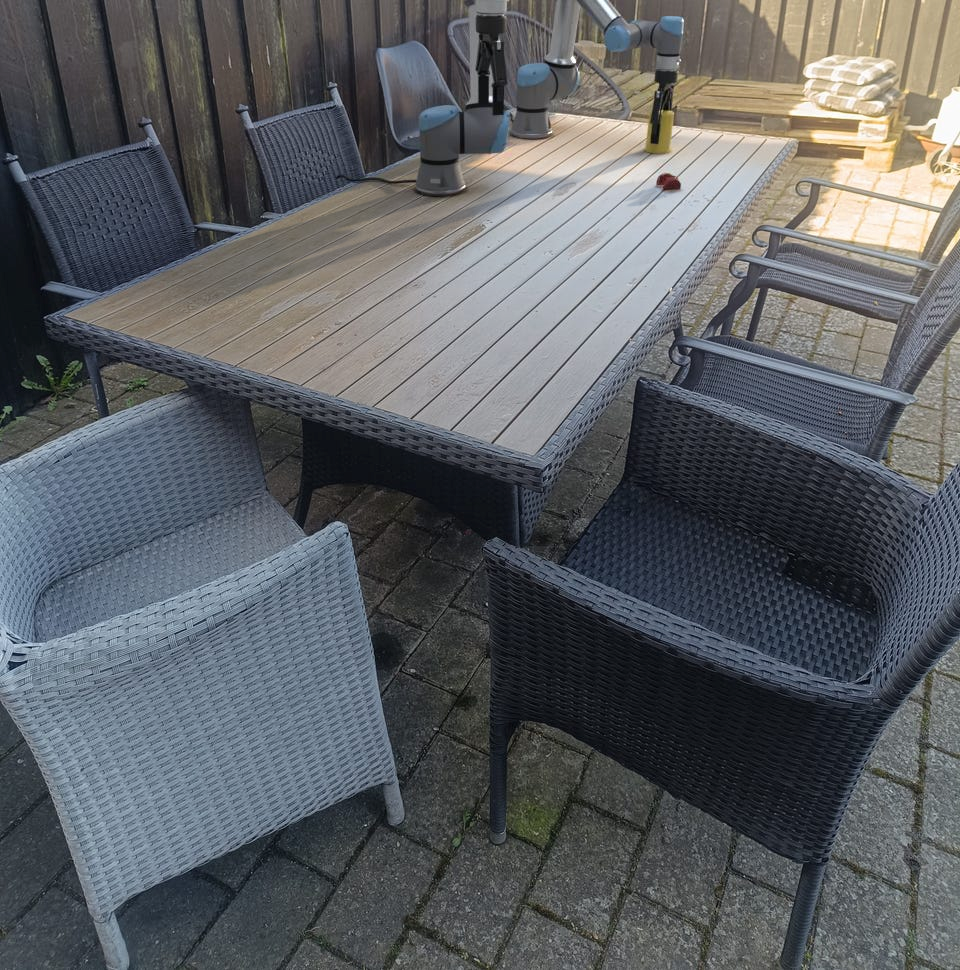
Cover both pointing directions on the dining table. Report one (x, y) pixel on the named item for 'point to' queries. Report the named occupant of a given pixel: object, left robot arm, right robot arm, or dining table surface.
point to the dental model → (668, 182)
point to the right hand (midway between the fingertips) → (658, 140)
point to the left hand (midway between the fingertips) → (490, 109)
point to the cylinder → (661, 133)
